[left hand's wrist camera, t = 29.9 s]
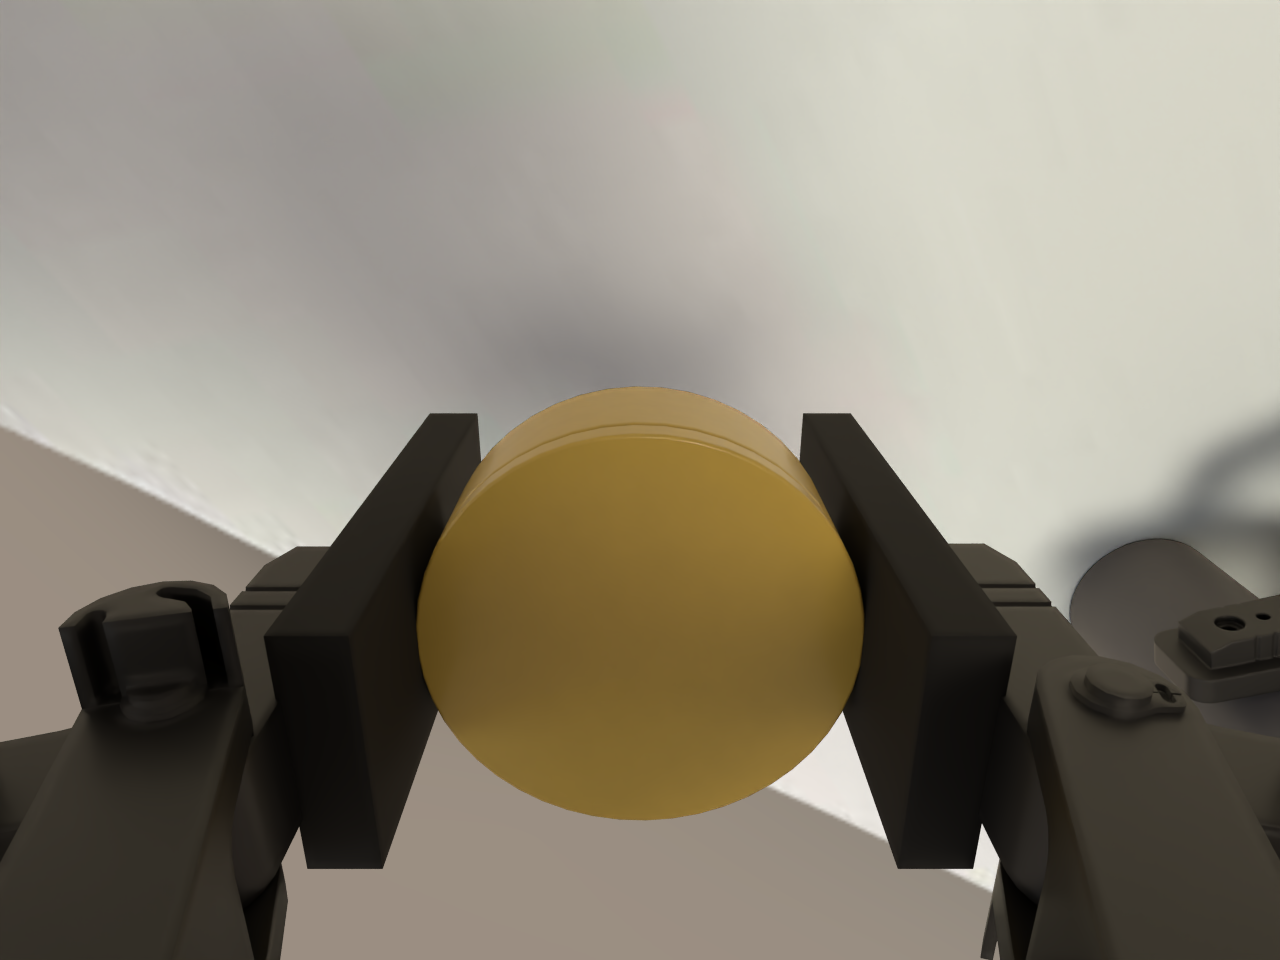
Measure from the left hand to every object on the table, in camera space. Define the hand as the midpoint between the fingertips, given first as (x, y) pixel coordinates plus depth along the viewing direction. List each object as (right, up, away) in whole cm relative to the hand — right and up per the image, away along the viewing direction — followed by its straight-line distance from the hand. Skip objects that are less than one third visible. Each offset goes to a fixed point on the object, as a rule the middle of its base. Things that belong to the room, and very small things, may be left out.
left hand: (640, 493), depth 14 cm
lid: (0, -2, -4) cm, 4 cm away
